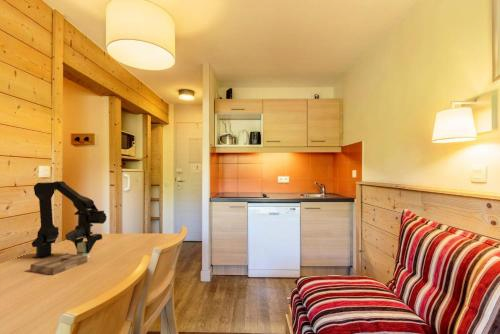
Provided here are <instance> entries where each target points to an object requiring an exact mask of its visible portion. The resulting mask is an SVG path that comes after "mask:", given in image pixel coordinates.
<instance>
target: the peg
mask: <svg viewBox="0 0 500 334" xmlns="http://www.w3.org/2000/svg"><path fill="white" fill-rule="evenodd" d="M85 241H86V240H83V242H80V243H77V249H76V255H82V256H87V259H88V258H90V256H91V251H90V252H89V253H88V254H87V252H86V243H85Z"/></svg>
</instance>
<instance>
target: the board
mask: <svg viewBox="0 0 500 334" xmlns="http://www.w3.org/2000/svg"><path fill="white" fill-rule="evenodd" d="M86 263H88V258H87V256H82V255H77V254H72V253H63V254H60V255H57V256H53V257H51V258H47V259H45V260H44V259H43V260H40V261H37V262H34V263H31V264H30V272H32V273H38V274H45V275H52V276H54V275H57V274H59V273H60V274H61V273H63V272H66V271H68V270H70V269H73V268H75V267H79V266H81V265H84V264H86Z"/></svg>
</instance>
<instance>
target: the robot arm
mask: <svg viewBox="0 0 500 334" xmlns="http://www.w3.org/2000/svg"><path fill="white" fill-rule="evenodd" d="M55 191H58V192H59V193H61V194H62V195H63V196H64V197H66V198H67V199H68V200H69V201H71V202H72V203H73V206H74V207H75V209H76V210H77V211H76V212H74V213H73V215H75V216H78V217H77V225H75V227H74V229H72V230H70V231H69V232H67V233H65V240H67V241H69V242H72V243H74V246H75V249H76V250H77V243H80V242H83V241H85V243H86V252H87V254H88V253H89V252H90V253H91V250H92V249H93V247H94V246H95V244H96V242H97V241H100V240H103V235H102V233H93V231H92V227H93V226H94V225H95V224H99V225H100V224H101V225H102V224H105V222H106V221H107V215H106V213H105V210H99V209H98V208H97V206H96V204H95V203H94V200H92V199H91V198H90V197H87V196H84V195H81V194H80V193H78V192H77V190H75V189H73V188H72V187H71V186H69V185H68V184H67V183H66V182H65V181H63V180H62V181H61V180H59V181H58V180H57V181H52V182H51V181H50V182H48V181H46V182H36V183H35V185H34V186H33V192H34V195H35V196H36V197H37V199H38V202H39V204H38V206H39V215H40V217H39V218H40V227H39V229H38V231H37V236H36V238H35V239H34V240H33V241H32V242H31V247H32V248H36V249H35V255H34V256H32V258H34V259H40V260H41V259H45V258H48V257H52V256H54V255H55V254H54V253H52V244H55V243H56V240H57V239H58V238H59V235H60V232H59V227H58V226H55V225H54V220H53V219H54V218H53V217H54V216H53V206H52V198H53V196H54V194H55ZM84 239H86V240H84Z"/></svg>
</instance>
